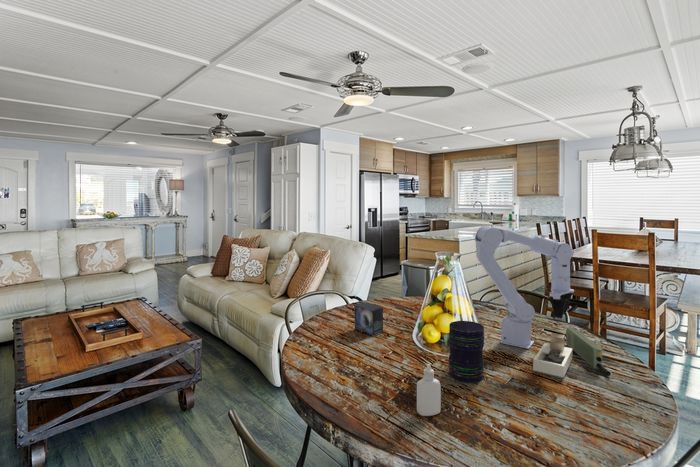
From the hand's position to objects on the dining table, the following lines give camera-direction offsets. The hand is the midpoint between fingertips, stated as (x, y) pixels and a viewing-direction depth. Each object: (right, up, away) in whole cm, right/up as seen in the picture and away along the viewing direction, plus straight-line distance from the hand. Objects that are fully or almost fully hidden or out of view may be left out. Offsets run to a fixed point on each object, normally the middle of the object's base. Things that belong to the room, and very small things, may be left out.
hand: (561, 314), depth 133 cm
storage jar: (-40, -13, -22) cm, 48 cm away
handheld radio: (+1, -12, -12) cm, 17 cm away
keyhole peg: (-9, -11, -13) cm, 20 cm away
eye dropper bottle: (-55, -15, -41) cm, 70 cm away
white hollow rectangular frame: (-11, -12, -16) cm, 23 cm away
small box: (-67, -10, +16) cm, 70 cm away
